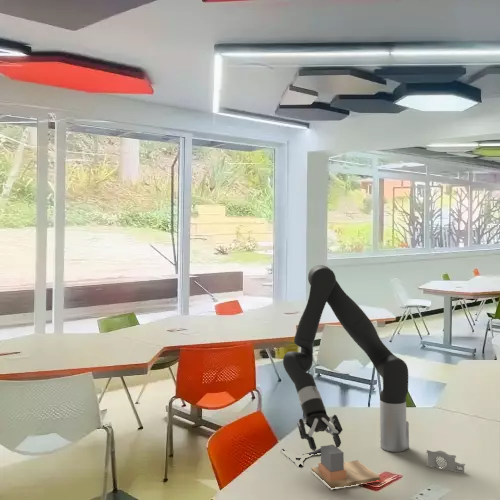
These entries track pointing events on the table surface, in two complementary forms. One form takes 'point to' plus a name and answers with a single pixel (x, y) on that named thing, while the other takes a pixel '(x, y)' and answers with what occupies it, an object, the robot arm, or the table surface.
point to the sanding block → (332, 463)
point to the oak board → (350, 475)
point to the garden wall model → (449, 460)
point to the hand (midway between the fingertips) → (326, 448)
